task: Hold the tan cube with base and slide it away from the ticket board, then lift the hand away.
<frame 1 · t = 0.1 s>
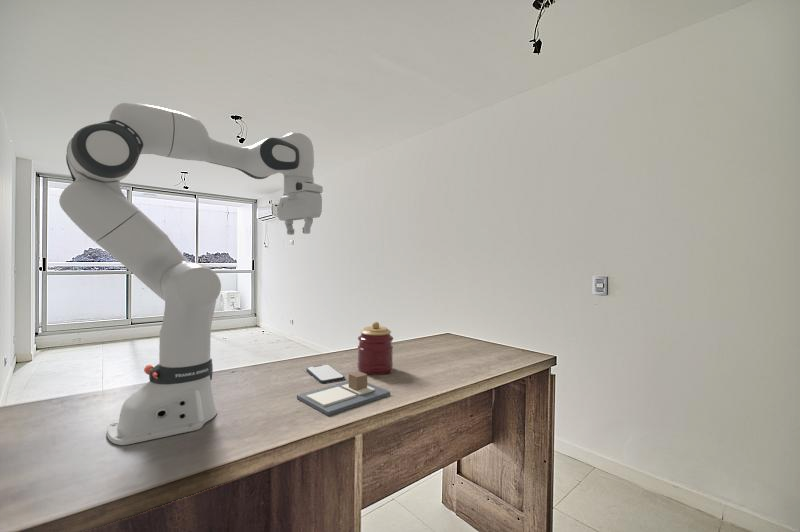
hand: (298, 234, 114), 48 cm above the table, tool pointing down, fingers open, 8 cm apart
tan cube with base: (358, 381, 112), point 3 cm above the table, slide at 0.0 cm
canister: (375, 370, 136), on the table
ticket board: (344, 396, 109), on the table
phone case: (324, 376, 129), on the table
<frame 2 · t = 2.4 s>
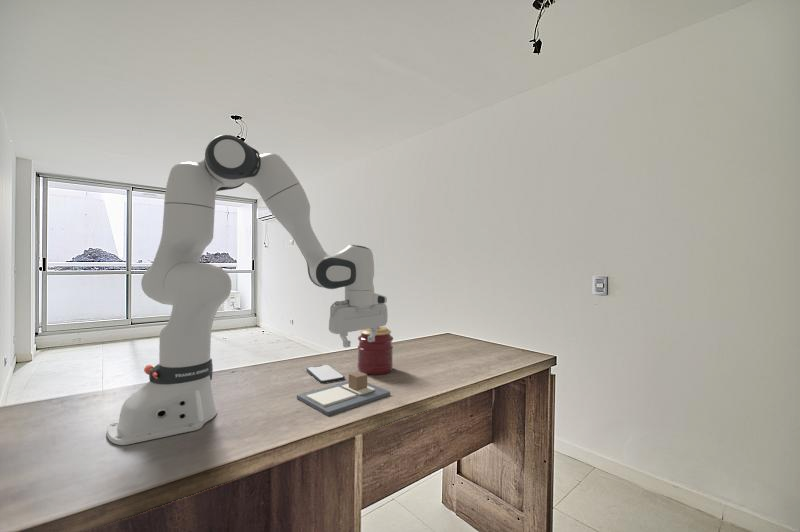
hand: (359, 344, 112), 15 cm above the table, tool pointing down, fingers open, 8 cm apart
nothing on the table moved.
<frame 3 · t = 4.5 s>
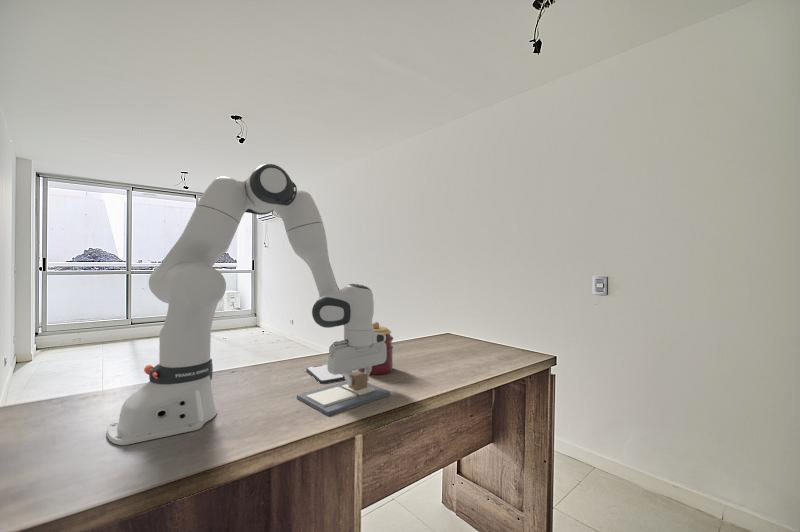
hand: (357, 383, 112), 3 cm above the table, tool pointing down, fingers closed on tan cube with base, 4 cm apart
tan cube with base: (357, 381, 112), point 3 cm above the table, slide at 0.0 cm, touching gripper
everything else where it was.
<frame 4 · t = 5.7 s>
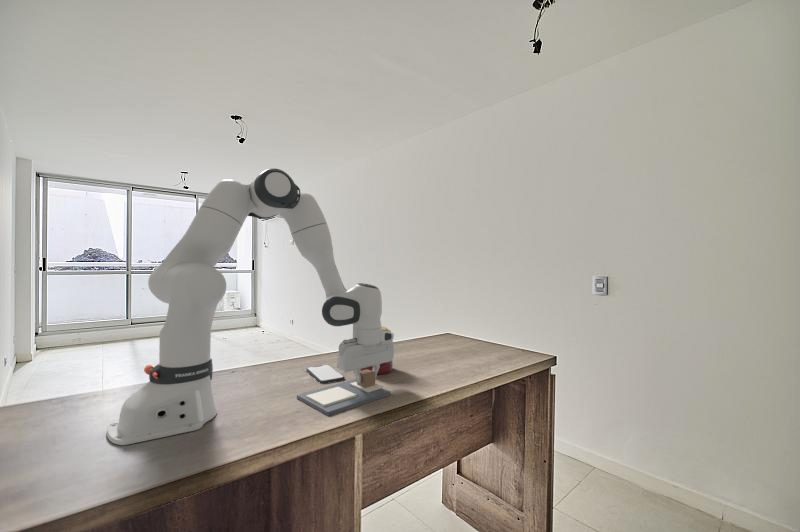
hand: (366, 380, 115), 3 cm above the table, tool pointing down, fingers closed on tan cube with base, 4 cm apart
tan cube with base: (366, 379, 115), point 3 cm above the table, slide at 3.3 cm, touching gripper
everything else where it was.
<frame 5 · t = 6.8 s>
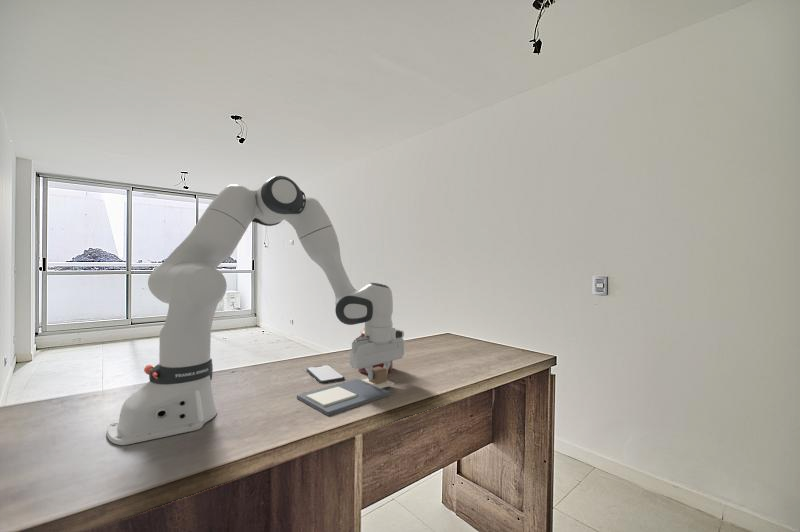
hand: (377, 377, 118), 3 cm above the table, tool pointing down, fingers closed on tan cube with base, 4 cm apart
tan cube with base: (377, 376, 118), point 3 cm above the table, slide at 8.0 cm, touching gripper
everything else where it was.
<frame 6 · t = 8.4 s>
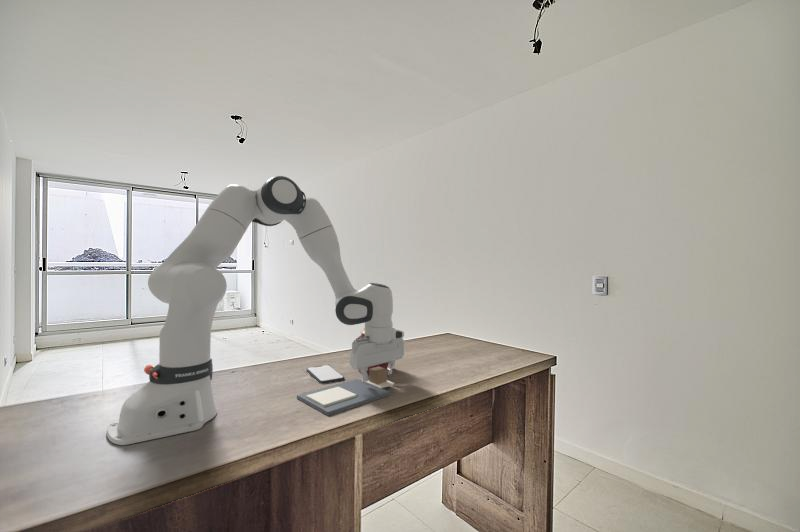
hand: (377, 377, 118), 3 cm above the table, tool pointing down, fingers open, 8 cm apart
tan cube with base: (378, 376, 118), point 3 cm above the table, slide at 8.1 cm
everything else where it was.
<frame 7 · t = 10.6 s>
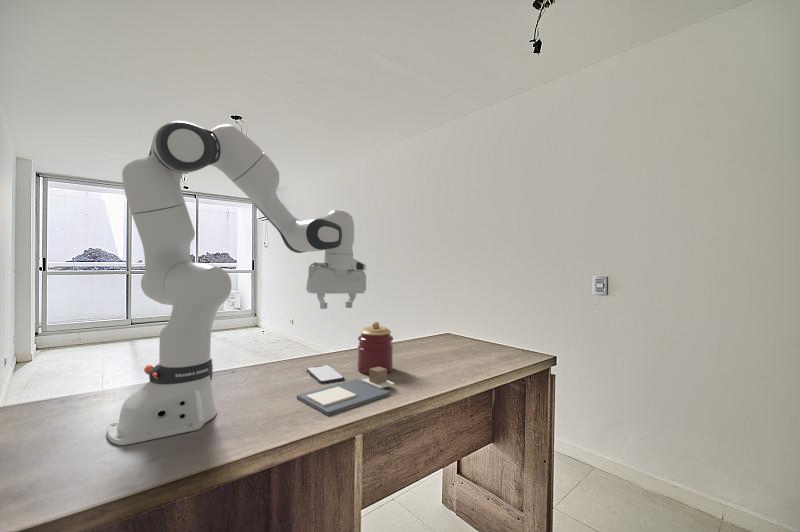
hand: (336, 308, 115), 25 cm above the table, tool pointing down, fingers open, 8 cm apart
nothing on the table moved.
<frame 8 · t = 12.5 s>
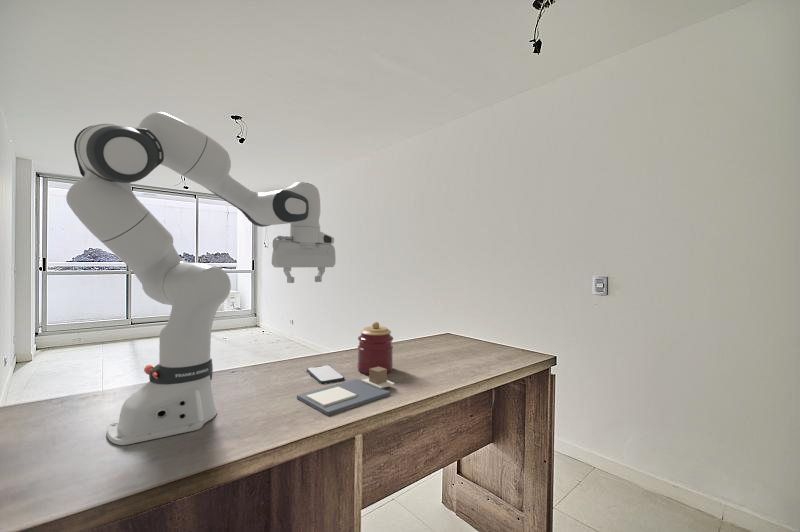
hand: (304, 282, 113), 33 cm above the table, tool pointing down, fingers open, 8 cm apart
nothing on the table moved.
at the end: tan cube with base slide at 8.1 cm; the gripper is holding nothing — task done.
